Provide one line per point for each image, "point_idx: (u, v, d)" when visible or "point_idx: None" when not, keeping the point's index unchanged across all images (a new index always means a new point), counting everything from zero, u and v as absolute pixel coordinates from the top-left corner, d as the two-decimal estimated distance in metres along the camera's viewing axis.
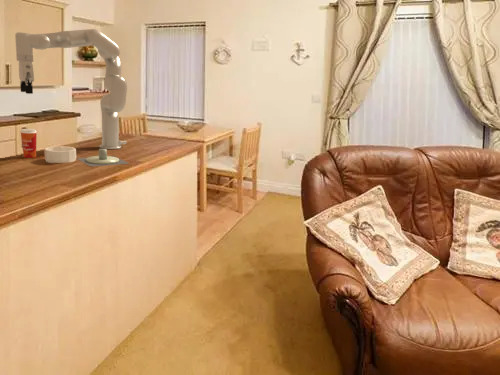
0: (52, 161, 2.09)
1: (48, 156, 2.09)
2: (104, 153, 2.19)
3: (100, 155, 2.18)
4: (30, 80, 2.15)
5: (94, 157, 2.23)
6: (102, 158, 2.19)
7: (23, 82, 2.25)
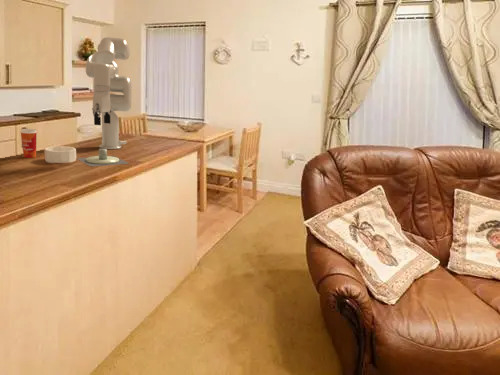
0: (52, 161, 2.09)
1: (48, 156, 2.09)
2: (104, 153, 2.19)
3: (100, 155, 2.18)
4: None
5: (94, 157, 2.23)
6: (102, 158, 2.19)
7: None
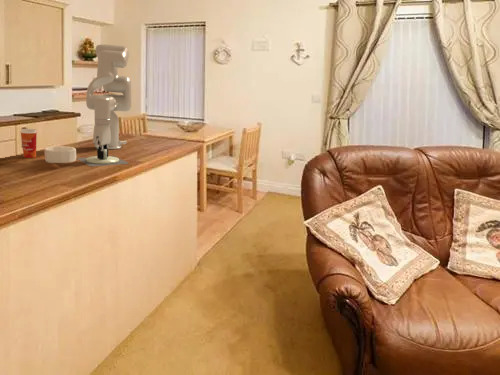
0: (52, 161, 2.09)
1: (48, 156, 2.09)
2: (104, 153, 2.19)
3: None
4: None
5: (94, 157, 2.23)
6: None
7: None
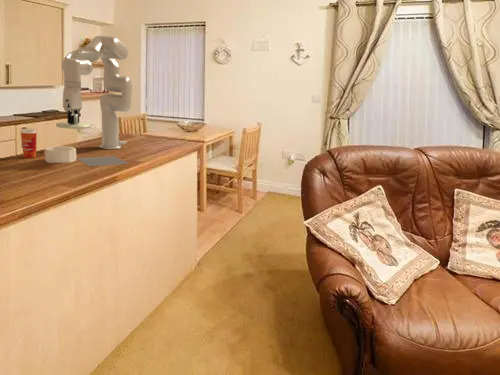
0: (52, 161, 2.09)
1: (48, 156, 2.09)
2: (75, 118, 2.11)
3: None
4: None
5: (64, 123, 2.15)
6: None
7: None
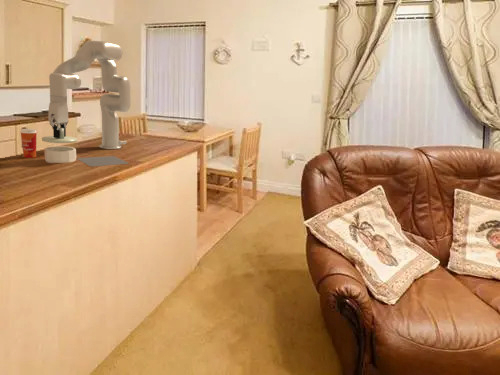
0: (52, 161, 2.09)
1: (48, 156, 2.09)
2: (61, 132, 2.11)
3: None
4: None
5: (51, 136, 2.15)
6: None
7: None
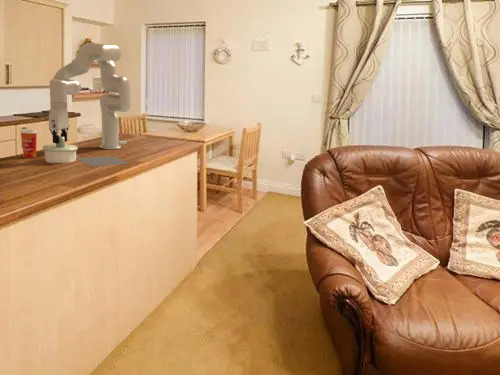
0: (52, 161, 2.09)
1: (48, 156, 2.09)
2: (61, 141, 2.12)
3: None
4: None
5: (52, 145, 2.16)
6: (59, 146, 2.12)
7: None
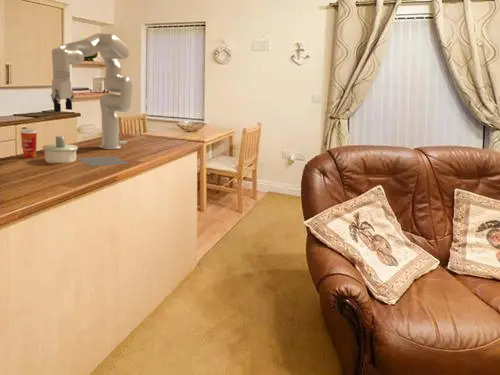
0: (52, 161, 2.09)
1: (48, 156, 2.09)
2: (61, 141, 2.12)
3: (57, 143, 2.12)
4: None
5: (52, 145, 2.16)
6: (59, 146, 2.12)
7: None
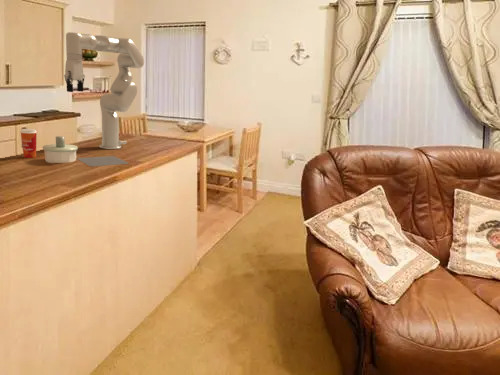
0: (52, 161, 2.09)
1: (48, 156, 2.09)
2: (61, 141, 2.12)
3: (57, 143, 2.12)
4: None
5: (52, 145, 2.16)
6: (59, 146, 2.12)
7: None
